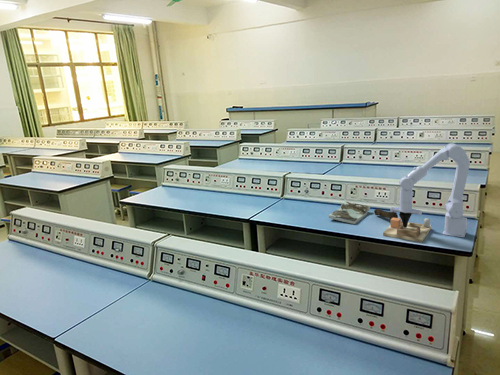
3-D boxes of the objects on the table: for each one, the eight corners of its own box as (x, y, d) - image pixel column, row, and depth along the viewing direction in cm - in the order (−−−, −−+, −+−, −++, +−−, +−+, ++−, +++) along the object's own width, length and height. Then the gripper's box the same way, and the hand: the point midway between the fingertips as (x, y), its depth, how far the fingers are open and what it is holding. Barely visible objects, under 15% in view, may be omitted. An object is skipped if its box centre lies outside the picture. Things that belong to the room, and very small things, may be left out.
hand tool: (374, 215, 214) (373, 208, 213) (380, 214, 215) (379, 206, 214) (393, 222, 196) (392, 214, 195) (399, 221, 196) (399, 212, 196)
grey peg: (430, 226, 188) (430, 218, 187) (429, 227, 185) (429, 220, 185) (424, 225, 189) (424, 217, 188) (423, 227, 187) (423, 219, 186)
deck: (431, 229, 189) (431, 219, 188) (421, 242, 174) (422, 232, 173) (394, 223, 200) (394, 215, 199) (383, 236, 184) (383, 227, 183)
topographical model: (354, 225, 203) (354, 216, 201) (328, 221, 211) (328, 213, 210) (370, 211, 223) (370, 203, 221) (345, 208, 231) (345, 201, 230)
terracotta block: (400, 225, 191) (400, 218, 190) (398, 228, 188) (398, 220, 187) (392, 224, 193) (392, 217, 192) (390, 227, 190) (390, 219, 189)
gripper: (423, 200, 183) (422, 226, 186) (393, 197, 191) (392, 222, 195) (420, 204, 177) (419, 230, 181) (389, 200, 186) (388, 226, 189)
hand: (405, 226), depth 187 cm, fingers closed
